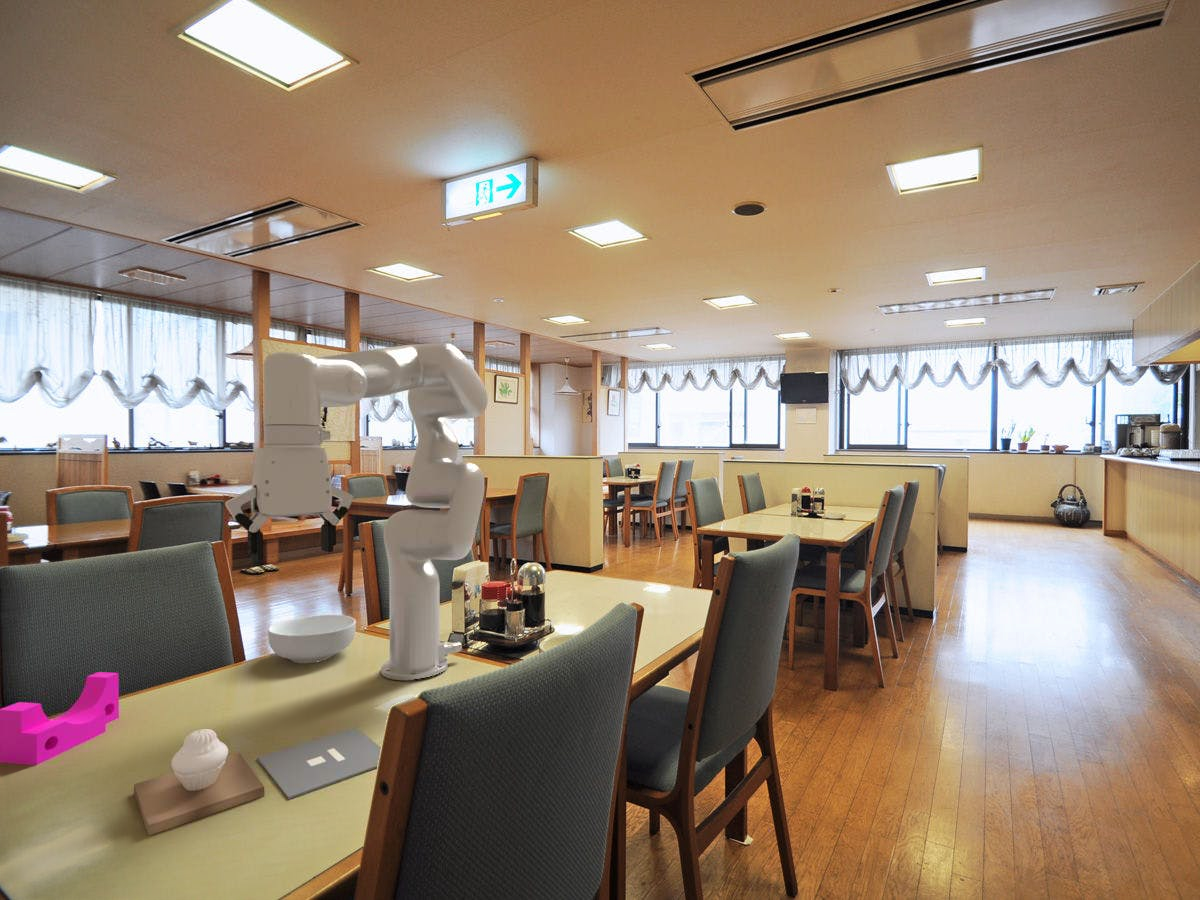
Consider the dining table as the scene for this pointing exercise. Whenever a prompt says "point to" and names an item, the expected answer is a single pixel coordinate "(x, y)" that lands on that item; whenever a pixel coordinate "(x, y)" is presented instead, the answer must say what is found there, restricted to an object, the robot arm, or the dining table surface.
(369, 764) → the tile
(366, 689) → the dining table surface
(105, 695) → the magenta cradle bracket
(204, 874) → the dining table surface
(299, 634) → the cereal bowl
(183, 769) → the muffin
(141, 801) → the walnut pad
